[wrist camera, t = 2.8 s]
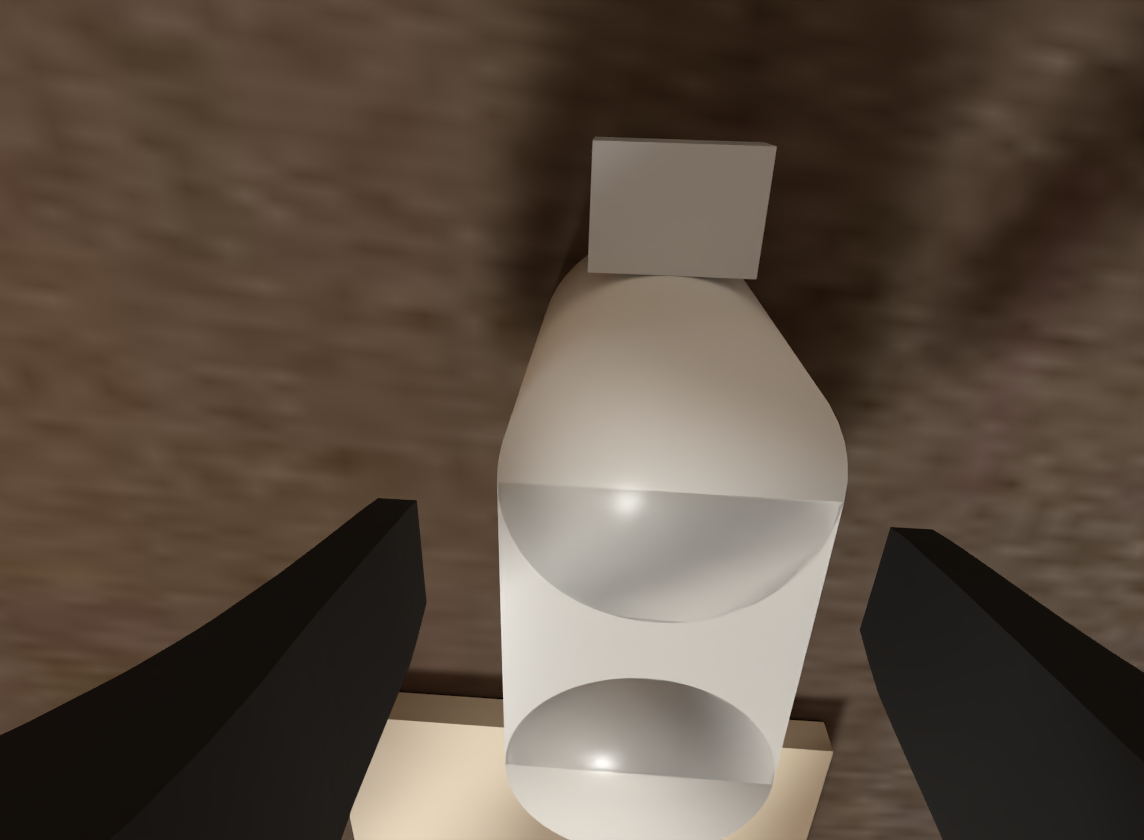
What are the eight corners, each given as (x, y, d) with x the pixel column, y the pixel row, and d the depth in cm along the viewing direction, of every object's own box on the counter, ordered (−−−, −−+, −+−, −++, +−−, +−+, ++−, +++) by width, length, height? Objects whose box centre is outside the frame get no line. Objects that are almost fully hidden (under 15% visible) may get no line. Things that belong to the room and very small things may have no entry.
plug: (543, 128, 11) (487, 151, 6) (794, 135, 10) (928, 166, 6) (539, 624, 15) (507, 844, 11) (712, 636, 15) (752, 864, 11)
